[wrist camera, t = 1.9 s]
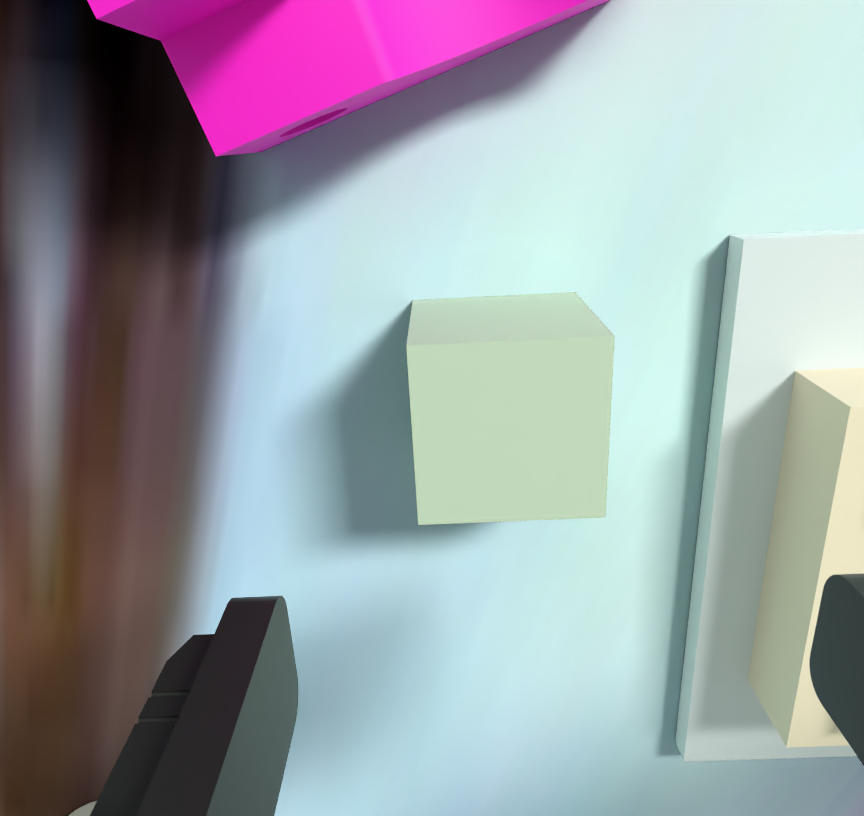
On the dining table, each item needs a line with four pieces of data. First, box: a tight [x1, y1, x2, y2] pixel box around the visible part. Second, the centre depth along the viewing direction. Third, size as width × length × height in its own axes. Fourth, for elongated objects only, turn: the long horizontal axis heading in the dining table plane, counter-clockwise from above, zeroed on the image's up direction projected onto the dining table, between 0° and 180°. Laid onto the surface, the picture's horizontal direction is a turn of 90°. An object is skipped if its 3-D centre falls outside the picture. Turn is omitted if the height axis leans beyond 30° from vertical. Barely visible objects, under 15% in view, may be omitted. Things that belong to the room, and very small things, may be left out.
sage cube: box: [406, 292, 614, 525], centre depth 20 cm, size 5×5×5 cm
